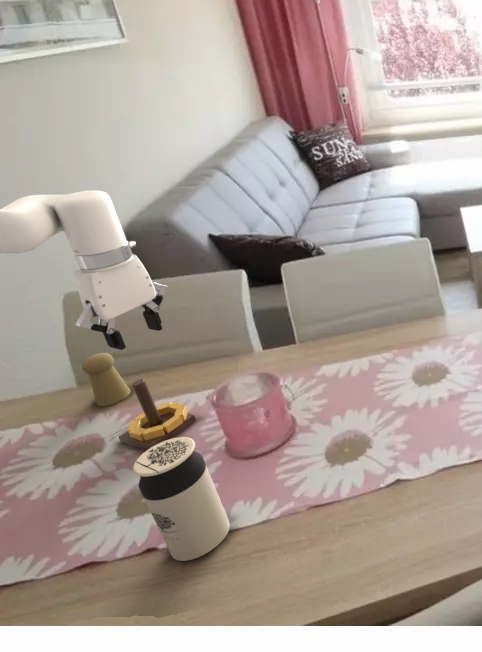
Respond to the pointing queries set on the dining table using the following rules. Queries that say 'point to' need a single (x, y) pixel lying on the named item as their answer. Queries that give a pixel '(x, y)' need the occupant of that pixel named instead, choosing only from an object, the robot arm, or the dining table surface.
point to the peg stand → (152, 419)
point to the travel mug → (182, 498)
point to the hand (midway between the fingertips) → (137, 337)
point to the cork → (105, 379)
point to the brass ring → (150, 433)
